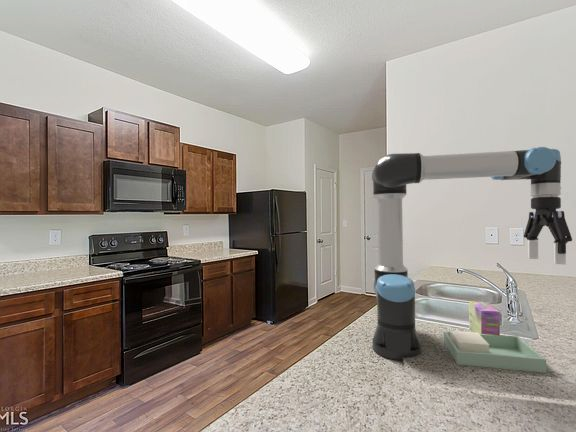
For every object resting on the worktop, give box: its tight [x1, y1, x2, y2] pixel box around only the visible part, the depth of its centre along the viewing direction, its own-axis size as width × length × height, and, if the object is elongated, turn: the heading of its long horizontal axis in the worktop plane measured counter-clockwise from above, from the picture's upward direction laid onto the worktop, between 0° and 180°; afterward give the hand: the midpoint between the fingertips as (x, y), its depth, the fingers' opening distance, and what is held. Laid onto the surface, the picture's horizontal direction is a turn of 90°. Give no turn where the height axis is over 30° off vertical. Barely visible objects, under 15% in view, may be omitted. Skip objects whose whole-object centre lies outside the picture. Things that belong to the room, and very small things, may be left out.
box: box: [468, 301, 501, 335], centre depth 104 cm, size 10×6×12 cm, turn 168°
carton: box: [449, 330, 489, 353], centre depth 92 cm, size 8×9×5 cm
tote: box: [442, 330, 547, 374], centre depth 91 cm, size 22×16×4 cm
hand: (545, 261), depth 99 cm, fingers open, 13 cm apart
